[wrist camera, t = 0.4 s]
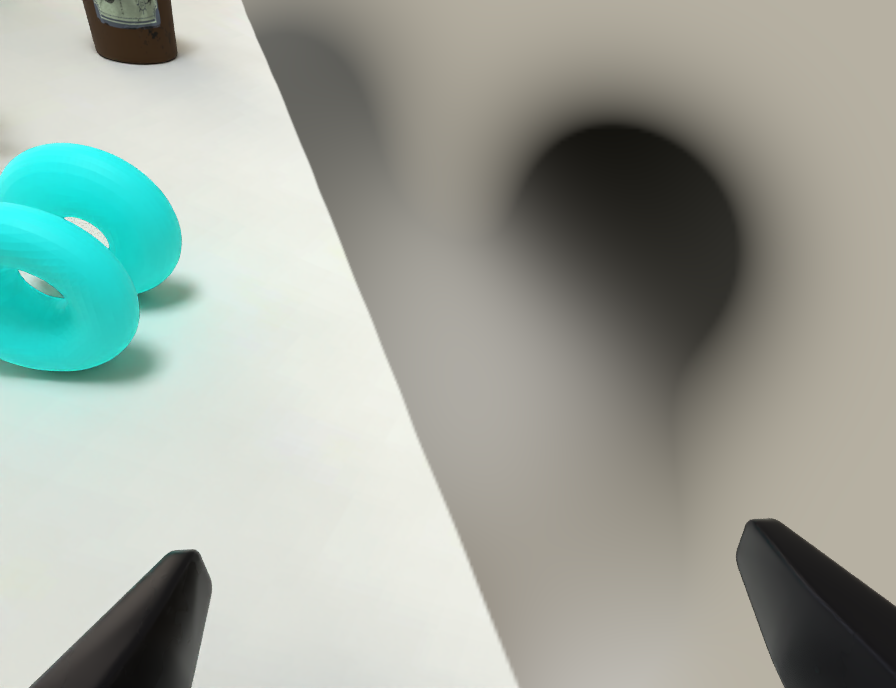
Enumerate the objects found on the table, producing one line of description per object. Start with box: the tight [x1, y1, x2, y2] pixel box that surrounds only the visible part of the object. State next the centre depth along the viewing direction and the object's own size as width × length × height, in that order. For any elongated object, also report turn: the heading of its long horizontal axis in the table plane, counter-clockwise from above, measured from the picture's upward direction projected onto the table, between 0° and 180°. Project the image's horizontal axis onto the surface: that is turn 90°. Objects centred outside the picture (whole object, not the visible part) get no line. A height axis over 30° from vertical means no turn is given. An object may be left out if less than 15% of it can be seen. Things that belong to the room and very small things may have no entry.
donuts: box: [0, 143, 182, 371], centre depth 31 cm, size 10×10×10 cm
